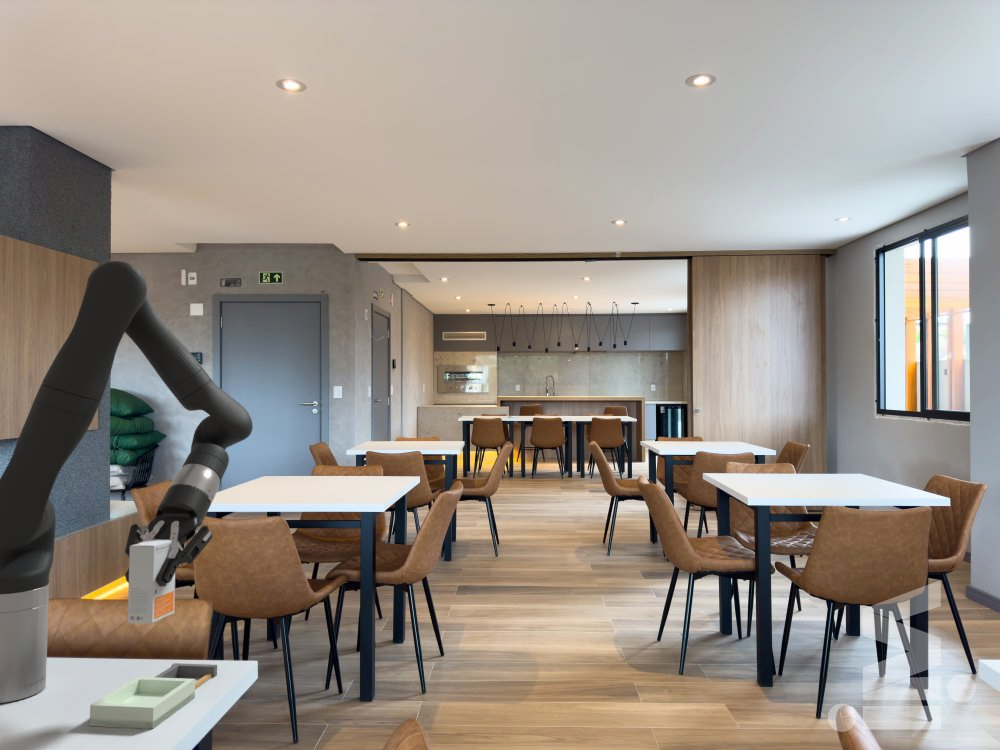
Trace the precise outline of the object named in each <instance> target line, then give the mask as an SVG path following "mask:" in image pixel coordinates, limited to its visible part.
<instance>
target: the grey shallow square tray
mask: <svg viewBox="0 0 1000 750" xmlns="http://www.w3.org/2000/svg"><path fill="white" fill-rule="evenodd" d="M217 676H218V664H207V663H206V664H205V663H204V664H203V663H181V662H180V663H176V662H175V663H173V664H171V666H170V667H168V668H167V669H165V670H164V671H162V672H160V673H159V674H157V675H155V677H156V678H178V677H194V678H195V677H197V678H199V679H198V680H197V681H196V680H195V690H196V689H197V688H199V687H200V686H202V685H203V684H205V683H206V682H207V681H209V680H210V679H211V678H215V677H217Z"/></svg>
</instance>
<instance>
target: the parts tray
mask: <svg viewBox="0 0 1000 750" xmlns="http://www.w3.org/2000/svg"><path fill="white" fill-rule="evenodd" d="M195 682H196V678H181V677H179V678H178V677H176V678H156V676H154V677H153V676H136V677H135V678H133V679H132V680H130V681H128V682H127V683H125V684H123V685H121V686H120V687H118V688H116V689H115V690H113V691H112V692H109V693H107V695H105V696H102V697H101V698H99V699H98V700H97V701H95V702H93V703H91V704H90V706H89V708H90V709H89V726H90V727H105V728H107V727H109V728H126V729H128V728H129V729H131V728H132V729H148V730H149V729H151V730H153V729H154V728H156V727H158V726H159V725H160V724H161V722H162V723H163V722H164V721H165V719H166V720H167V719H168V718H170V717H171V716H173V714H175V713H176V712H178V711H180V710H181V709H182V708H183V707H184V706H186V705H187V704H188V703H190V702H191V701H193V700H194V699H195V698H196V697H195V696H196V689H195ZM169 716H170V717H169ZM158 724H159V725H158Z"/></svg>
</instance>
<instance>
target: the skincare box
mask: <svg viewBox="0 0 1000 750" xmlns="http://www.w3.org/2000/svg"><path fill="white" fill-rule="evenodd" d="M170 548H171V541H170V540H165V539H154V540H149V541H144V542H143V541H142V542H141V543H139V544H135V545H131V546H130V555H129V557H128V561H129V562H128V564H129V565H128V569H129V583H128V596H127V599H128V600H127V623H128V624H142V625H143V624H144V625H145V624H147V625H151V624H153V623H156V622H158V621H159V620H162V619H164V618H166V617H168V616H172V615H174V614H175V598H176V595H175V594H176V573H175V574H174V576H173V578H172V580H171V581H170V582H169V583H167V585H166V586H159V584H158V583H157V582H156V578H157V576H158V574H159V572H160V570H161V568H162V566H163V564H164V562H165V560H166V559H169V557H168V556H169V550H170Z"/></svg>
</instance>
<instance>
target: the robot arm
mask: <svg viewBox="0 0 1000 750" xmlns="http://www.w3.org/2000/svg"><path fill="white" fill-rule="evenodd" d="M147 291H148V287H147V282H146V279H145V277H144V275H143V274H142V272H141V271H140V270H139V269H138V268H137V267H136V266H134V265H133V264H131V263H129V262H125V261H121V260H112V261H107V262H104V263H102V264H100V265H98V266H96V267H95V268H94V269H93V270H92V271H91V273H90V275H89V276H88V278H87V282H86V287H85V290H84V295H83V298H82V300H81V301H82V302H81V305H80V307H79V311H78V314H77V317H76V320H75V322H74V325H73V327H72V329H71V331H70V333H69V335H68V337H67V338H66V340H65V341H64V343H63V344H62V346H61V348H60V350H59V351H58V352H57V354H56V356H55V358H54V360H53V361H52V363H51V365H50V367H49V368H48V370H47V371H46V374H45V376H44V378H43V379H42V381H41V384H40V385H39V386H40V387H39V388H38V391H37V393H36V395H35V398H34V399H33V402H32V404H31V407H30V410H29V413H28V415H27V416H26V419H25V421H24V424H23V427H22V429H21V432H20V433H19V436H18V439H17V441H16V444H15V447H14V450H13V452H12V455H11V458H10V460H9V462H8V464H7V466H6V467H5V469H4V471H3V473H2V475H1V477H0V704H2V703H10V702H15V701H19V700H22V699H26V698H29V697H31V696H34V695H37V694H38V693H40V692H42V691H43V690H44V689H45V688H46V687H47V661H48V659H47V657H48V632H49V631H48V627H49V626H48V624H49V596H50V595H49V594H50V592H49V591H50V590H49V589H50V573H51V569H52V566H53V562H54V555H55V554H54V553H55V552H54V551H55V539H56V538H55V537H56V510H55V507H54V503H53V502H52V500H51V499H50V496H51V493H52V490H53V487H54V486H55V485H54V484H55V482H56V480H57V477H58V475H59V473H60V472H61V470H62V468H63V466H64V464H65V463H66V462H67V461H68V460H69V458H70V456H71V455H72V454H73V453H74V451H75V449H76V448H78V445H79V444H80V442H81V441H82V439H83V438H84V436H85V435H86V433H87V431H88V430H89V428H90V426H91V424H92V422H93V421H94V418H95V416H96V413H97V411H98V408H99V406H100V404H101V401H102V400H103V398H104V394H105V391H106V389H107V385H108V382H109V378H110V375H111V371H112V369H113V365H114V361H115V357H116V354H117V351H118V347H119V345H120V343H121V340H122V339H123V337H124V334H126V335H127V336H128V337H129V339H130V340H132V341H133V343H134V344H135V345H136V346H137V348H138V349H139V350H140V352H141V353H142V354H143V355H144V357H145V359H146V360H147V361H148V362H149V364H150V365H151V366H152V368H153V370H154V371H155V372H156V373H157V375H158V377H159V378H160V379H161V381H162V382H163V384H165V386H166V387H167V389H169V391H170V392H171V393H172V395H173V396H174V398H175V399H176V400H177V401H178V403H180V404H181V406H182V407H183V408H184V409H185V410H186V411H190V412H191V411H193V412H194V411H203V412H205V413H206V414H207V415H208V416H206V417H205V418H204V419H202V420H201V421H200V422H199V424H198V425H197V427H196V428H195V430H194V433H193V437H192V441H191V445H190V452H189V454H188V455H187V457H186V459H185V461H184V463H183V464H182V466H181V468H180V469H179V471H178V473H176V475H175V476H174V478H173V480H172V482H171V483H170V485H169V487H168V488H167V490H166V492H165V494H164V495H163V497H162V500H161V501H160V503H159V504H158V507H157V510H156V515H155V517H154V518H153V519H152V520H151V521H150V522H149V523H148V524H147V525H146V524H145V525H142V526H139V524H137V523H134V524H132V525H130V529H129V532H128V536H127V541H126V546H125V550H124V553H125V555H126V556H127V557H128V558H129V555H130V546H131V545H135V544H139V543H141V542H144V541H149V540H154V539H165V540H170V541H171V548H170V550H169V556H168V557H169V559H166V560H165V562H164V564H163V566H162V568H161V570H160V572H159V574H158V576H157V578H156V582H157V583H158V584H159V586H166V585H167V583H169V582H170V581H171V580H172V578H173V576H174V574H175V575H176V571H177V569H178V567H180V566H181V565H182V564H185V563H186V564H187V565H190V564H192V563H193V562H194V561H195V560H196V559H197V558H198V556H199V555H200V554H201V552H202V551H203V550H204V548H205V547H206V546H207V545H208V544H209V543H210V541H211V540H212V539H213V534H212V532H211V530H210V528H209V527H208V525H203V526H202V524H203V522H204V520H205V517H206V515H207V513H209V512H208V511H209V509H210V507H211V505H212V503H213V501H214V499H215V497H216V495H217V492H218V489H219V485H220V484H221V481H222V479H223V477H224V474H225V473H226V470H227V468H228V466H229V463H230V462H229V461H230V456H229V454H228V452H227V451H226V449H227V448H230V447H231V446H234V445H236V444H239V443H240V442H242V441H244V440H246V439H248V438H249V437H250V436H251V434H252V432H253V427H254V425H253V420H252V418H251V415H250V414H249V411H248V410H247V409H246V408H245V407H244V406H243V405H242V404H241V403H240V402H238V401H237V400H236V399H235V398H234V397H232V396H231V395H230V394H228V393H227V392H226V391H224V390H223V389H222V388H221V387H219V386H218V385H216V383H215V381H214V380H213V379H212V378H211V377H210V375H209V374H208V372H207V371H206V370H205V369H204V368H203V366H202V364H201V363H199V361H198V360H197V359H196V358H195V356H194V354H192V353H191V352H190V350H188V348H186V346H185V345H184V344H183V343H182V342H181V341H180V340H179V338H177V337H176V336H175V335H174V334H173V332H172V331H171V329H169V328H168V326H167V325H166V324H165V323H164V321H163V320H162V319H161V317H160V315H159V314H158V313H157V311H156V309H155V308H154V306H153V305H152V302H151V300H150V298H149V296H148V295H147V294H148V293H147ZM189 540H190V541H189ZM187 542H188V543H187ZM124 577H125V581H126V582H127V584H129V568H128V569H127V570H126V572H125V574H124Z"/></svg>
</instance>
